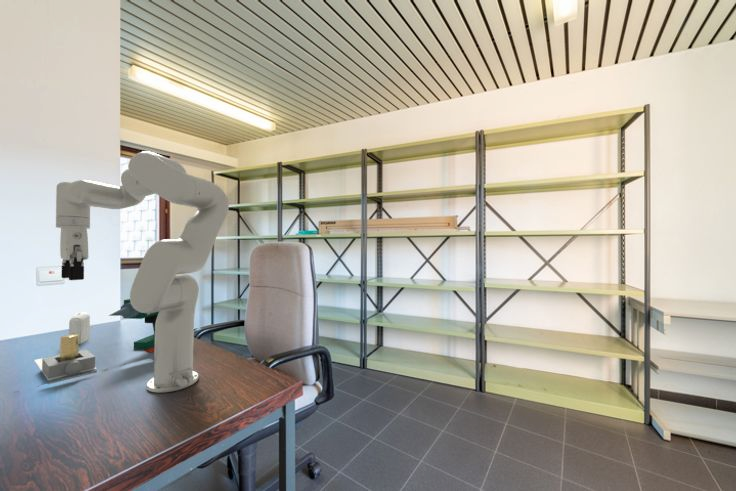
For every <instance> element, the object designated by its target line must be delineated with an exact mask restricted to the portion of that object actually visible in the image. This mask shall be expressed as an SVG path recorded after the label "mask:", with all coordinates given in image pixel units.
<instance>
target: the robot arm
mask: <svg viewBox="0 0 736 491" xmlns="http://www.w3.org/2000/svg"><path fill="white" fill-rule="evenodd" d="M127 165H128V167H127V168H128V169H125V170H124V171H122V173H121V175H120V182H121V185H112V184H106V183H102V182H98V181H92V180H89V179H88V180H87V179H79V180H75V181H72V182H71V181H70V182H69V181H63V182H62V181H61V182H59V183H58V184H57V185H56V190H55V191H56V192H55V193H56V194H55V196H56V197H55V199H56V200H55V228H59V229H60V238H59V239H60V242H59V243H60V245H59V246H60V247H59V248H60V250H59V254H60V258H61V260H62V262H61V264H62V265H61V278H62V279H68V280H69V281H79V280H80V281H81V280H84V278H85V266H84V265H85V264H84V261H86V260H88V259H89V240H88V239H89V238H88V236H89V235H88V229H89V230H90V229H91V207H93V208H103V209H110V210H121V209H126V208H131V207H134V206H137V205H139V204H141V203H142V202H143V201H144V200H145V198H146V197H147V196H151V195H155V194H156V195H157V196H159V197H161V199H164V200H166V201H168V202H170V203H172V204H176V205H178V206H179V205H180V206H185V207H190V208H196V209H197V211H196V212H195V213H193V215H191V217H190V218H189V219H188V220H187V221H186V223H185V225H184V227H183V231H182V232H181V235H180V236H179V237H178V238H177V239H176V238H175V239H174V238H173V239H172V238H170V239H169V238H167V239H159V240H158V241H156V242H154V243H153V244H152V245H151V246H150V247H149V248H148V249H147V250H146V252H145V254H144V255H143V258H142V261H141V264H140V266H139V268H138V270H137V273H136V275H135V277H134V280H133V283H132V284H131V288H130V292H129V299H130V302H131V305H132V306H133V308H134V309H135V310H137V311H139V312H141V313H153V312H158V311H159V314H158V316H157V319H156V324H155V348H154V351H153V352H154V354H153V356H154V357H153V377H152V378H150V380H148V382H147V383H146V389H147V391H149V392H152V393H156V394H157V393H158V394H159V393H161V394H162V393H170V392H175V391H180V390H183V389H185V388H188V387H190V386H192V385H195V384H196V382H197V381H199V373H198V372H197V371H195V370H193V369H194V337H195V331H194V330H195V314H196V312H195V311H196V307H197V306H196V305H197V302H198V297H199V284H198V282H197V280H196V279H195V278H194V277H193V276H192V275H189V274H191V273H196V272H199V271H200V270H203V268H204V266H205V265H206V263H207V262H208V258H209V256H210V253H211V252H212V249H213V247H214V244H215V242H216V240H217V237H218V234H219V233H220V231H221V228H222V227H223V225H224V223H225V221H226V219H227V216H228V213H229V206H230V205H229V204H230V203H229V200H228V196H227V193H226V192H225V191H224V189H222V188H221V187H220V186H219V185H217V184H215V183H214V182H212V181H209V180H207V179H204V178H201V177H198V176H194V175H191V174H188V173H187V171H186V169H185V167H184V166H183V165H182V164H181V163H179V162H178V161H176V160H174V159H172V158H168V157H167V156H163V155H160V154H157V153H155V152H151V151H141V152H137V153H136V154H134V155H132V157H131V158H130V159H129V162H128V164H127Z"/></svg>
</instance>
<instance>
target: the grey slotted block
mask: <svg viewBox="0 0 736 491" xmlns="http://www.w3.org/2000/svg"><path fill="white" fill-rule="evenodd" d="M33 361H34V362H35V363H36V365H37V366H38V368H39V370H40V371H41V372H42V374H43V375H44V376H45V378H46V379H47V381H50V382H47V385H51V384H55V383H60V382H62V381H63V382H64V381H67V380H71V379H75V378H79V377H83V376H84V377H85V376H86V375H87V376H88V375H92V374H96V373H97V367H96V355H94V354H93V353H92V352H91V351H89V350H88V349H83V350H78V358H77V359H72V360H67V361H62V362H60V354H57V355H52V356H49V357H42V358H38V359H34V360H33ZM92 370H93V371H92ZM88 371H89V372H88ZM90 371H91V372H90ZM81 373H82V374H81ZM67 376H70V377H67ZM63 377H66V378H63ZM59 378H61V379H59ZM54 379H55V380H54ZM56 379H57V380H56ZM51 380H53V381H51Z"/></svg>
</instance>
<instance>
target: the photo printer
mask: <svg viewBox="0 0 736 491" xmlns="http://www.w3.org/2000/svg"><path fill="white" fill-rule="evenodd" d="M90 326H91V316H90V313H88V312H87V311H80V312H77V313H75V314H74V315H72V317H71V318H70V320H69V323H68V335H75V334H76V335H79V345H81V344H84V343H85V342H87V341H89V340H90V334H91V333H90V330H91V329H90V328H91V327H90Z"/></svg>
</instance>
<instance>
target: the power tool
mask: <svg viewBox="0 0 736 491" xmlns="http://www.w3.org/2000/svg"><path fill="white" fill-rule="evenodd" d="M158 314H159V311H158V312H153V313H141V312H139V311H137V310H135V309H134V308H133V306H132V305H131V302H130V298H127V299H124V300H123V304H122V305H121V306H120V309H119V310H117V311H115V312H113V313H111V314H109V315H108V316H113V317H115V316H117V317H118V316H122V317H123V319H128V320H129V319H134V320H142V319H144V324H152V328H153V333H152V334H151V335H148V336H146V337H144V338H141V339H138V340H135V341H134V342H133V349H134V350H143V351H144V352H146V353H147V354H149V353H152V352H154V348H155V324H156V319H157V316H158Z"/></svg>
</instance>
